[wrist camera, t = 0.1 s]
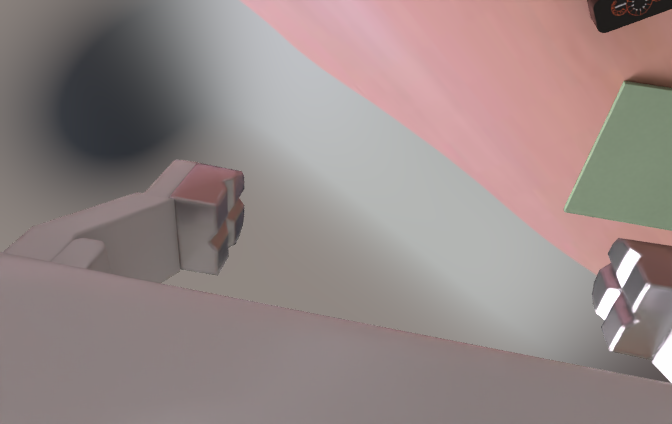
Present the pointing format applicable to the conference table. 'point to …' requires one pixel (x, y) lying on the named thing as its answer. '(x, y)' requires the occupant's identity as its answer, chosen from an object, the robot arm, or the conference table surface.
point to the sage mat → (630, 161)
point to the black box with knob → (624, 12)
